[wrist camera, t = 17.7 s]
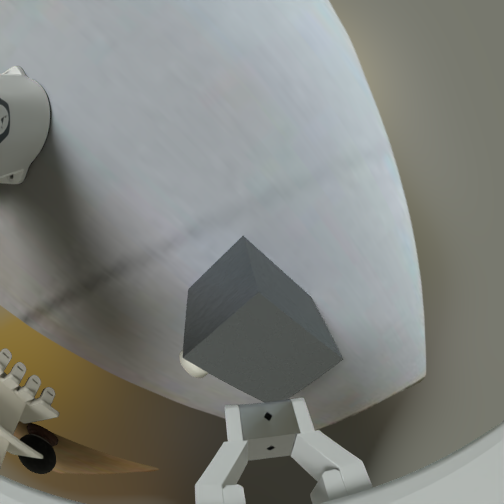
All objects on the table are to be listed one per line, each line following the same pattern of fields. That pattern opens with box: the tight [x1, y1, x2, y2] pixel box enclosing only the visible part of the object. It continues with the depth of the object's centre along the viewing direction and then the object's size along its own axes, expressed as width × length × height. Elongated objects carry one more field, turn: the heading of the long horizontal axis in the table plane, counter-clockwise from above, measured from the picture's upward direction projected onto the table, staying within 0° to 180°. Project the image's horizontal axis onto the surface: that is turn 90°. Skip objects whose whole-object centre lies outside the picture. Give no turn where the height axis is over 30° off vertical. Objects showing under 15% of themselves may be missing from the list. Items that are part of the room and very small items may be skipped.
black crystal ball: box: [18, 424, 58, 474], centre depth 54 cm, size 13×13×15 cm
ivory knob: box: [179, 350, 208, 378], centre depth 37 cm, size 10×5×5 cm, turn 134°
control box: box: [183, 236, 343, 402], centre depth 40 cm, size 12×16×15 cm
